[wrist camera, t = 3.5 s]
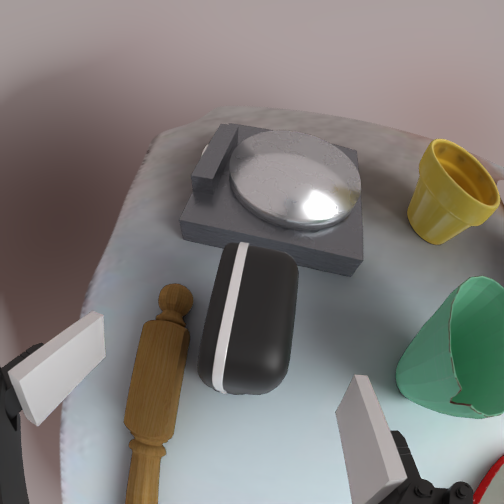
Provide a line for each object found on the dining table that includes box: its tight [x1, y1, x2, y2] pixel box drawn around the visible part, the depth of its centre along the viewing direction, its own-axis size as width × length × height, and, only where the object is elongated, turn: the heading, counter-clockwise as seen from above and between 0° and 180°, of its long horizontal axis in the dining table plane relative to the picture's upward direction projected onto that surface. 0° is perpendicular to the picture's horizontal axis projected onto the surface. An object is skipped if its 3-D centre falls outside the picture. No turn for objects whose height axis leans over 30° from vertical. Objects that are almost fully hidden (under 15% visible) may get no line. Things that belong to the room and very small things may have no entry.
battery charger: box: [198, 242, 299, 395], centre depth 16 cm, size 7×4×11 cm, turn 171°
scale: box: [179, 123, 363, 277], centre depth 27 cm, size 16×16×5 cm
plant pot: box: [407, 139, 500, 245], centre depth 25 cm, size 10×10×10 cm
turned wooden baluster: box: [124, 283, 193, 504], centre depth 14 cm, size 3×3×30 cm
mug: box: [395, 275, 504, 419], centre depth 15 cm, size 15×10×10 cm
